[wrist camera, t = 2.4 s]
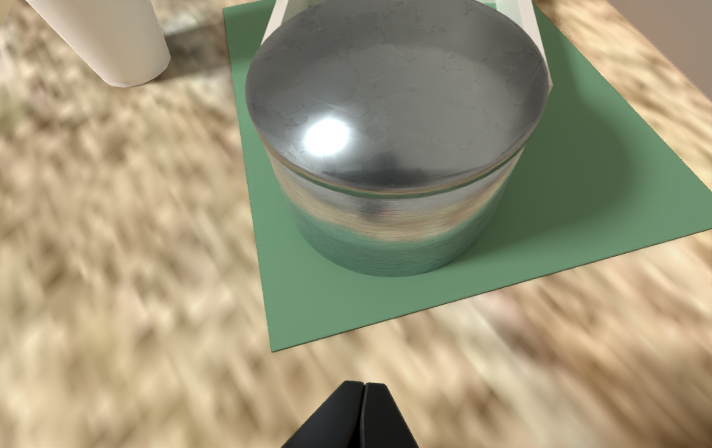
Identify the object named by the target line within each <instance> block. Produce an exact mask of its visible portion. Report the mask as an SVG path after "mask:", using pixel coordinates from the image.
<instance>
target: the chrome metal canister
mask: <svg viewBox="0 0 712 448" xmlns="http://www.w3.org/2000/svg"><path fill="white" fill-rule="evenodd" d="M548 90H549V80H548V71H547V68H546V64H545V61H544V58H543V56H542V54H541V52H540V50H539V48H538V47H537V45H536V44H535V43H534V41H533V40H532V39H531V37H530V36H529V35H528V34H527V33H526V32H525V31H524V30H523V29H522V28H521V27H520V26H519V25H518V24H516V23H515V22H514V21H513V20H511V19H510V18H509V17H507V16H506V15H504V14H502V13H501V12H499V11H497V10H496V9H494V8H492V7H490V6H487V5H485V4H483V3H481V2H478V1H476V0H325V1H323V2H321V3H318V4H316V5H313V6H311V7H309V8H307V9H305V10H303V11H302V12H300V13H298V14H296V15H295V16H293V17H292V18H290V19H289V20H287V21H285V22H284V23H283V24H282V25H281V26H279V27H278V28H277V29H276V30H274V31H273V32H272V33H271V35H270V36H269V37H268V38H267V39H266V40H265V41H264V42H263V43H262V45H261V46H260V48H259V49H258V50H257V52H256V54H255V56H254V57H253V59H252V61H251V63H250V66H249V69H248V72H247V76H246V83H245V98H246V104H247V108H248V112H249V115H250V117H251V120H252V122H253V125H254V127H255V129H256V132H257V134H258V136H259V138H260V140H261V141H262V143H263V145H264V147H265V150H266V152H267V155H268V157H269V160H270V162H271V165H272V168H273V170H274V173H275V175H276V178H277V180H278V183H279V185H280V188H281V191H282V193H283V196H284V198H285V201H286V203H287V206H288V208H289V211H290V213H291V216H292V219H293V221H294V223H295V225H296V227H297V229H298V230H299V232H300V233H301V235H302V236H303V238H304V239H305V240H306V241H307V242H308V243H309V245H310V246H311V247H312V248H313V249H314V250H316V251H317V252H318V253H319V254H321V255H322V256H323V257H325V258H326V259H328V260H330V261H331V262H333V263H334V264H336V265H339V266H341V267H343V268H345V269H348V270H350V271H354V272H357V273H361V274H364V275H370V276H377V277H394V278H395V277H407V276H414V275H419V274H424V273H427V272H430V271H433V270H436V269H439V268H441V267H443V266H445V265H447V264H449V263H451V262H453V261H455V260H456V259H458V258H459V257H461V256H462V255H464V254H465V253H466V252H467V251H468V250H469V249H470V248H472V247H473V246H474V245H475V244H476V242H477V241H478V240H479V239H480V238H481V236H482V235H483V234H484V232H485V230H486V228H487V227H488V225H489V223H490V221H491V219H492V217H493V214H494V212H495V210H496V208H497V206H498V204H499V201H500V199H501V197H502V195H503V193H504V191H505V188H506V186H507V184H508V182H509V180H510V177H511V175H512V173H513V171H514V169H515V167H516V164H517V162H518V160H519V158H520V156H521V154H522V151H523V149H524V147H525V145H526V143H527V142H528V141H529V139H530V137H531V135H532V134H533V132H534V130H535V129H536V127H537V124H538V122H539V120H540V118H541V116H542V114H543V111H544V108H545V105H546V102H547V98H548Z"/></svg>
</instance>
